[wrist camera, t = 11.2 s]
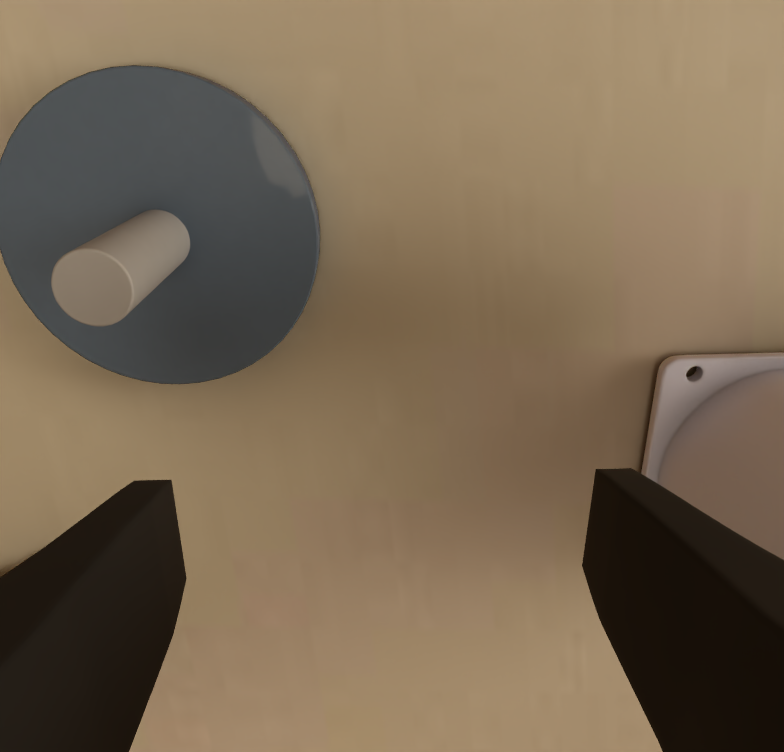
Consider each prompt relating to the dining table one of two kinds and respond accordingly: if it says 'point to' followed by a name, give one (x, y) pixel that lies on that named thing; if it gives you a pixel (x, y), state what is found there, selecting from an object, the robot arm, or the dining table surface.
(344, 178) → the dining table surface
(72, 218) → the ring stand
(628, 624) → the robot arm
